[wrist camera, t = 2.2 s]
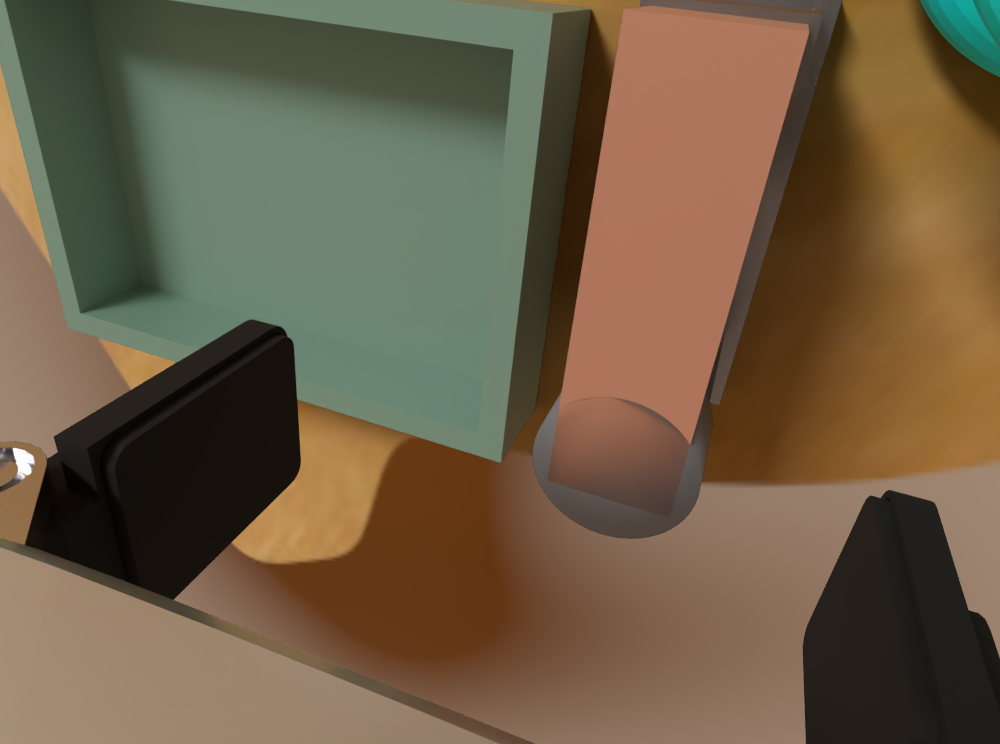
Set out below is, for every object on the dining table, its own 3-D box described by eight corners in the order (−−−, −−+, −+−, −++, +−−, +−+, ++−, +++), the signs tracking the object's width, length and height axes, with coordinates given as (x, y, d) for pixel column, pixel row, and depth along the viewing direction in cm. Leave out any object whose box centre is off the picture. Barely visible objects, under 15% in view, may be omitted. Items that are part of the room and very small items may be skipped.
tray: (591, 9, 22) (552, 13, 18) (535, 408, 29) (501, 462, 26) (71, -56, 27) (-32, -61, 24) (138, 295, 35) (68, 328, 32)
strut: (627, 2, 16) (596, 5, 14) (835, 27, 15) (840, 35, 13) (553, 453, 23) (523, 508, 21) (692, 495, 22) (678, 559, 20)
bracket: (662, -21, 21) (623, -23, 16) (841, -1, 19) (852, 2, 15) (592, 358, 27) (551, 432, 23) (721, 392, 26) (704, 477, 22)
